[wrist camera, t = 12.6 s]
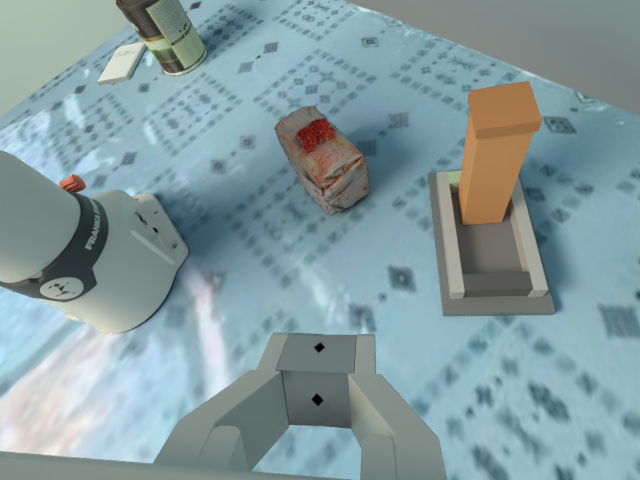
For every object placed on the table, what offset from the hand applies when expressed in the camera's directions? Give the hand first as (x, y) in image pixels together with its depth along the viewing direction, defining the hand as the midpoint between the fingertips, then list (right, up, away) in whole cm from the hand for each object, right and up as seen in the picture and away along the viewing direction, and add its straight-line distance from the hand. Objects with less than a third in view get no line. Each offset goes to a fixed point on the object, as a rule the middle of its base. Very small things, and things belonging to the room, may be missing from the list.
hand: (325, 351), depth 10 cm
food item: (+1, +12, +39) cm, 41 cm away
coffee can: (-29, +42, +65) cm, 82 cm away
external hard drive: (-46, +44, +71) cm, 95 cm away
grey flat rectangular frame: (+18, +4, +29) cm, 34 cm away
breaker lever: (+18, +7, +29) cm, 35 cm away
